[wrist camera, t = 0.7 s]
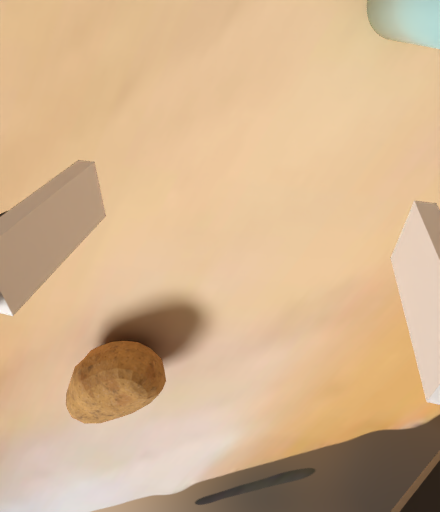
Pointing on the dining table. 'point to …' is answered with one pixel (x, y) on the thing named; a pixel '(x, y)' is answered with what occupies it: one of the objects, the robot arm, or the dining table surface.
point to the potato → (114, 382)
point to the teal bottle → (406, 20)
